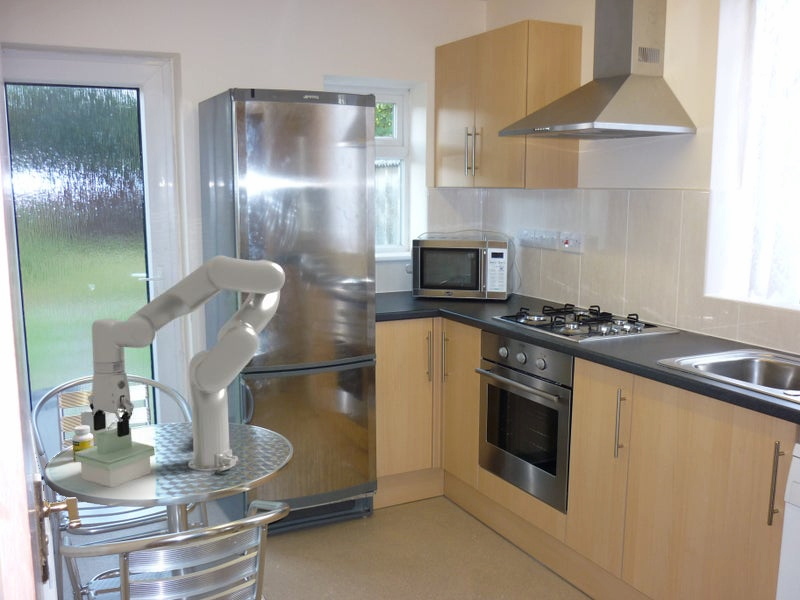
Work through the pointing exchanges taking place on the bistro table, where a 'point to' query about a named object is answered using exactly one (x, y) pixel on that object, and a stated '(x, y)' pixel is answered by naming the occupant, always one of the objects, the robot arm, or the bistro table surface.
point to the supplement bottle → (82, 439)
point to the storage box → (116, 473)
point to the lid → (114, 451)
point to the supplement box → (88, 420)
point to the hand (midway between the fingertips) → (111, 432)
